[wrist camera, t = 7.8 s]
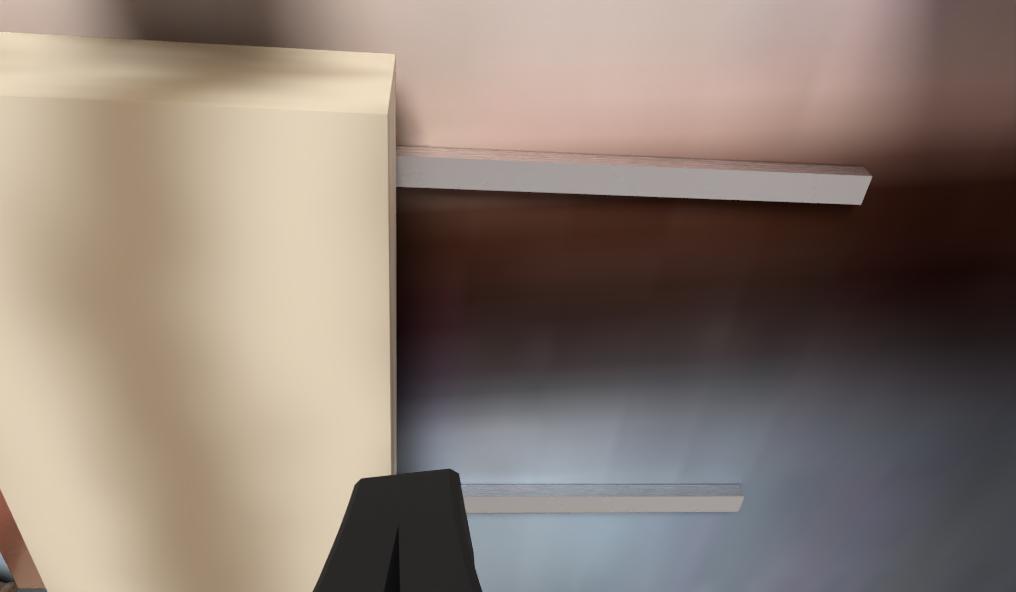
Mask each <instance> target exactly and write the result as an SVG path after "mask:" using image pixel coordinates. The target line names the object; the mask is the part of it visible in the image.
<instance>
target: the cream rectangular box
mask: <svg viewBox="0 0 1016 592" xmlns="http://www.w3.org/2000/svg"><path fill="white" fill-rule="evenodd" d="M396 474H397V358H396V54H384V53H366V52H348V51H331V50H313V49H295V48H278V47H260V46H242V45H225V44H207V43H189V42H172V41H154V40H136V39H119V38H101V37H83V36H66V35H48V34H30V33H13V32H0V489H1V492H2V494H3V496H4V498H5V500H6V502H7V505H8V507H9V509H10V511H11V513H12V516H13V518H14V520H15V522H16V524H17V526H18V529H19V531H20V533H21V535H22V537H23V539H24V542H25V544H26V546H27V548H28V550H29V553H30V555H31V557H32V559H33V561H34V563H35V566H36V568H37V570H38V572H39V574H40V576H41V579H42V581H43V583H44V585H45V587H46V590H47V592H313V590H314V587H315V585H316V583H317V581H318V579H319V577H320V574H321V572H322V569H323V567H324V565H325V562H326V560H327V558H328V555H329V553H330V550H331V548H332V546H333V543H334V541H335V538H336V536H337V533H338V531H339V528H340V525H341V523H342V520H343V517H344V514H345V512H346V509H347V506H348V503H349V500H350V497H351V494H352V491H353V488H354V485H355V484H356V483H357V482H358V481H359V480H360V479H361V478H369V477H378V476H387V475H396Z"/></svg>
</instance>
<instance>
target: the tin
mask: <svg viewBox="0 0 1016 592" xmlns="http://www.w3.org/2000/svg"><path fill="white" fill-rule="evenodd" d="M16 591H17V584H16V583H15V582H9V583H4V582H1V581H0V592H16Z"/></svg>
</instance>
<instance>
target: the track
mask: <svg viewBox="0 0 1016 592" xmlns="http://www.w3.org/2000/svg"><path fill="white" fill-rule="evenodd" d="M871 179H872V175H871V174H870V173H869V172H868V171H867V170H866V169H865V168H864V167H857V166H835V165H812V164H789V163H767V162H744V161H722V160H699V159H676V158H654V157H631V156H609V155H586V154H564V153H541V152H518V151H496V150H473V149H451V148H428V147H406V146H396V187H417V188H442V189H468V190H494V191H520V192H545V193H571V194H597V195H623V196H648V197H674V198H700V199H726V200H751V201H777V202H803V203H829V204H854V205H861V204H862V201H863V199H864V196H865V194H866V191H867V189H868V186H869V184H870V181H871ZM461 488H462V494H463V499H464V504H465V510H466V513H576V512H738V511H739V509H740V506H741V504H742V501H743V499H744V494H743V491H742V489H741V486H740V485H461ZM0 552H1V554H2V556H3V558H4V560H5V562H6V564H7V566H8V568H9V570H10V572H11V574H12V576H13V578H14V580H15V582H16V584H17V586H18V588H19V589H20V588H46V587H45V585H44V583H43V581H42V579H41V576H40V574H39V572H38V570H37V568H36V566H35V563H34V561H33V559H32V557H31V555H30V553H29V550H28V548H27V546H26V544H25V542H24V539H23V537H22V535H21V533H20V531H19V529H18V526H17V524H16V522H15V520H14V518H13V516H12V513H11V511H10V509H9V507H8V505H7V502H6V500H5V498H4V496H3V494H2V492H1V489H0Z"/></svg>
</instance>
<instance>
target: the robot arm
mask: <svg viewBox="0 0 1016 592" xmlns="http://www.w3.org/2000/svg"><path fill="white" fill-rule="evenodd" d="M313 592H482V589H481V586H480V583H479V580H478V577H477V574H476V570H475V565H474V554H473V548H472V543H471V537H470V532H469V526H468V521H467V515H466V510H465V504H464V499H463V494H462V488H461V483H460V477H459V474H458V473H457V472H455V471H453V470H451V469H442V470H433V471H424V472H415V473H406V474H396V475H387V476H378V477H369V478H361V479H360V480H359V481H358V482H357V483H356V484H355V485H354V488H353V491H352V494H351V497H350V500H349V503H348V506H347V509H346V512H345V514H344V517H343V520H342V523H341V525H340V528H339V531H338V533H337V536H336V538H335V541H334V543H333V546H332V548H331V550H330V553H329V555H328V558H327V560H326V562H325V565H324V567H323V569H322V572H321V574H320V577H319V579H318V581H317V583H316V585H315V587H314V590H313Z"/></svg>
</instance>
